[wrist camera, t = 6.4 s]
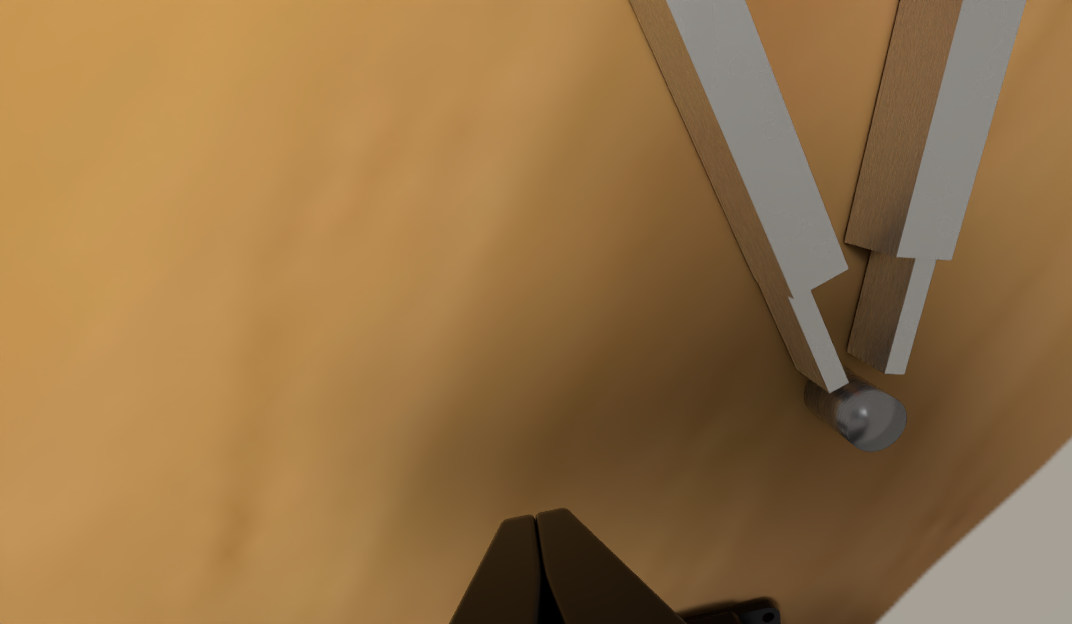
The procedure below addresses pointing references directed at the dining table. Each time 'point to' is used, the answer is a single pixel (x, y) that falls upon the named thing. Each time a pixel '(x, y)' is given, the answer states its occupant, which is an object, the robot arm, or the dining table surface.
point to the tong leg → (752, 164)
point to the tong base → (916, 190)
